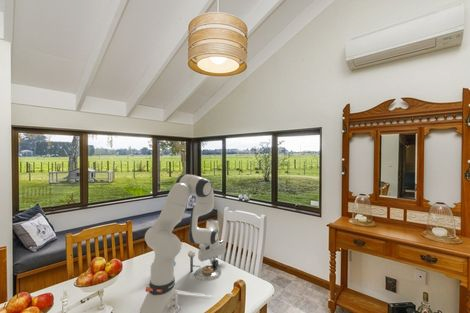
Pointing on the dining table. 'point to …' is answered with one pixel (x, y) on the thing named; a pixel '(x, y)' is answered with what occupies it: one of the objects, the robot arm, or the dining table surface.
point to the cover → (207, 270)
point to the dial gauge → (191, 260)
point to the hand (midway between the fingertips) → (212, 263)
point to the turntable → (202, 277)
